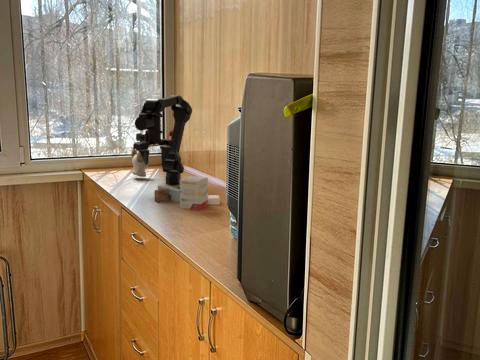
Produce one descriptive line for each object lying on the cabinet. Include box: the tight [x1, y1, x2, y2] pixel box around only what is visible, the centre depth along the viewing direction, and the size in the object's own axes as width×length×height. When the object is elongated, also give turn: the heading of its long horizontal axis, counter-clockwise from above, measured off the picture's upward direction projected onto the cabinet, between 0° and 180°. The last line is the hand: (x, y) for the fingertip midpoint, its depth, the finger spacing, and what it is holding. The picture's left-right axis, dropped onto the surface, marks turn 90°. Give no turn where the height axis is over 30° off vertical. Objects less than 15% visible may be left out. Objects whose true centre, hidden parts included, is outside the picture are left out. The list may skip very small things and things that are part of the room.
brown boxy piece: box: [154, 184, 180, 204], centre depth 201 cm, size 14×2×5 cm, turn 139°
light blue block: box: [157, 184, 180, 203], centre depth 201 cm, size 2×13×5 cm, turn 49°
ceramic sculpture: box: [130, 148, 150, 178], centre depth 241 cm, size 11×9×15 cm
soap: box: [208, 194, 221, 206], centre depth 198 cm, size 9×6×3 cm, turn 94°
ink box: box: [179, 175, 209, 211], centre depth 190 cm, size 9×9×12 cm
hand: (154, 163), depth 214 cm, fingers open, 9 cm apart
